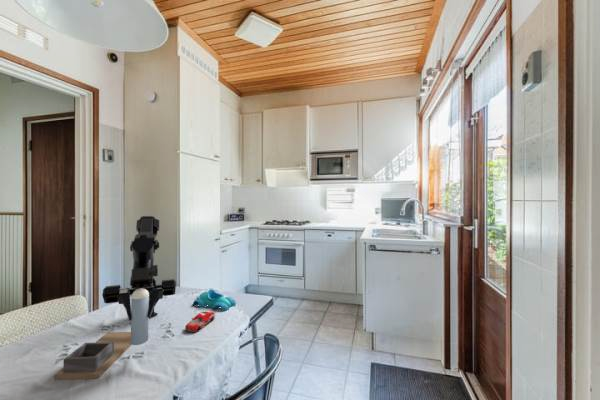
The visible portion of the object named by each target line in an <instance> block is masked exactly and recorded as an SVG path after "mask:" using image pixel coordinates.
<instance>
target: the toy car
mask: <svg viewBox="0 0 600 400" xmlns="http://www.w3.org/2000/svg"><path fill="white" fill-rule="evenodd" d="M194 304H195V305H194ZM192 305H193V306H194V307H196V306H197V307H199V308H206V307H205V306H207V305H208V306H207V307H211V306H213V307H212V308H213V310H214V309H215V310H216V311H217V310H219V311H218V312H220V310H221V309H222V310H221V311H222V312H227V310H228V311H229V310H230V309H229V308H230V307H234V306H236V305H237V302H236V300H235V299H234V298H232V297H230V296H226V297H225V296H224V294H222V293H219V292H218V291H216V290H215V289H208V291H204V292H202V293H200V295H199V296H196V299H195V300H194V301H193V302H192ZM198 305H199V306H198ZM217 307H221V308H217ZM216 308H217V309H216Z"/></svg>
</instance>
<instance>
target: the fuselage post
mask: <svg viewBox="0 0 600 400" xmlns="http://www.w3.org/2000/svg"><path fill="white" fill-rule="evenodd" d="M130 302H131V321H130V332H131V342H130V343H131V344H132V345H131V346H139V345H143V344H144V343H146V342H148V341H149V323H150V322H149V321H150V320H149V319H150V318H148V313H149V292H148V291H147V290H146V289H144V288H140V289H137V290H135V291H134V292H133V294H132V295H131V296H130Z"/></svg>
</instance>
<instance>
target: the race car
mask: <svg viewBox="0 0 600 400" xmlns="http://www.w3.org/2000/svg"><path fill="white" fill-rule="evenodd" d="M215 315H216V314H215V313H214V311H211V310H210V311H209V310H207V311H206V310H205V311H202V312H199V313H197V314H196V315H195V316H194V317H192V318H191V320H189V322H188V323H186V325H185V328H184V329H185V332H187V333H198V332H200V331H201V330H202V329H203V328H205V327H206V326H207V325H209V324H210V323H212V322H213V321H214V320H215V318H216V317H215ZM199 330H200V331H199Z"/></svg>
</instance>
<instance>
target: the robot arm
mask: <svg viewBox="0 0 600 400" xmlns="http://www.w3.org/2000/svg"><path fill="white" fill-rule="evenodd" d="M135 231H136V232H138V233H137V234H136V235H134V239H133V240H131V243H130V245H129V246H130V247H129V248H130V252H131V253H132V259H133V262H132V263H133V266H132V269H131V273H130V274H131V276H130V280H129V286H130V287H121V285H120V284H116V285H107V286H105V287H104V288H103V289H102V298H103V302H104V304H112V303H118V304H119V305H123V307H124V309H125V311H126V315H127V319H128V321H130V322H131V296H132V294H133V292H134V291H135V290H137V289H140V288H144V289H146V290H147V291H148V292H149V313H148V318H149V319H150V318H153V317H156V316H158V315H159V314H158V313H157V312H155V307H156V305H157V304H158V302H159V300H161V299H164V297H167V296H168V297H169V296H173V295H175V294H176V289H177V286H176V285H177V283H176V282H177V281H176V280H175V279H174V278H171V279H162V280H161V284H158V285H157V281H156V280H155V278H154V277H158V275H159V265H158V264H154V263H155V262H154V261H155V260H154V259H155V257H154V254H155V253H156V251H157V250H158V249H159V248H160V242H159V241H158V239H156V238H157V236H158V232H159V231H160V220H159V219H157V218H156V217H155V216H153V215H143V216H140V218H139V219H137V220H136V229H135Z"/></svg>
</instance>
